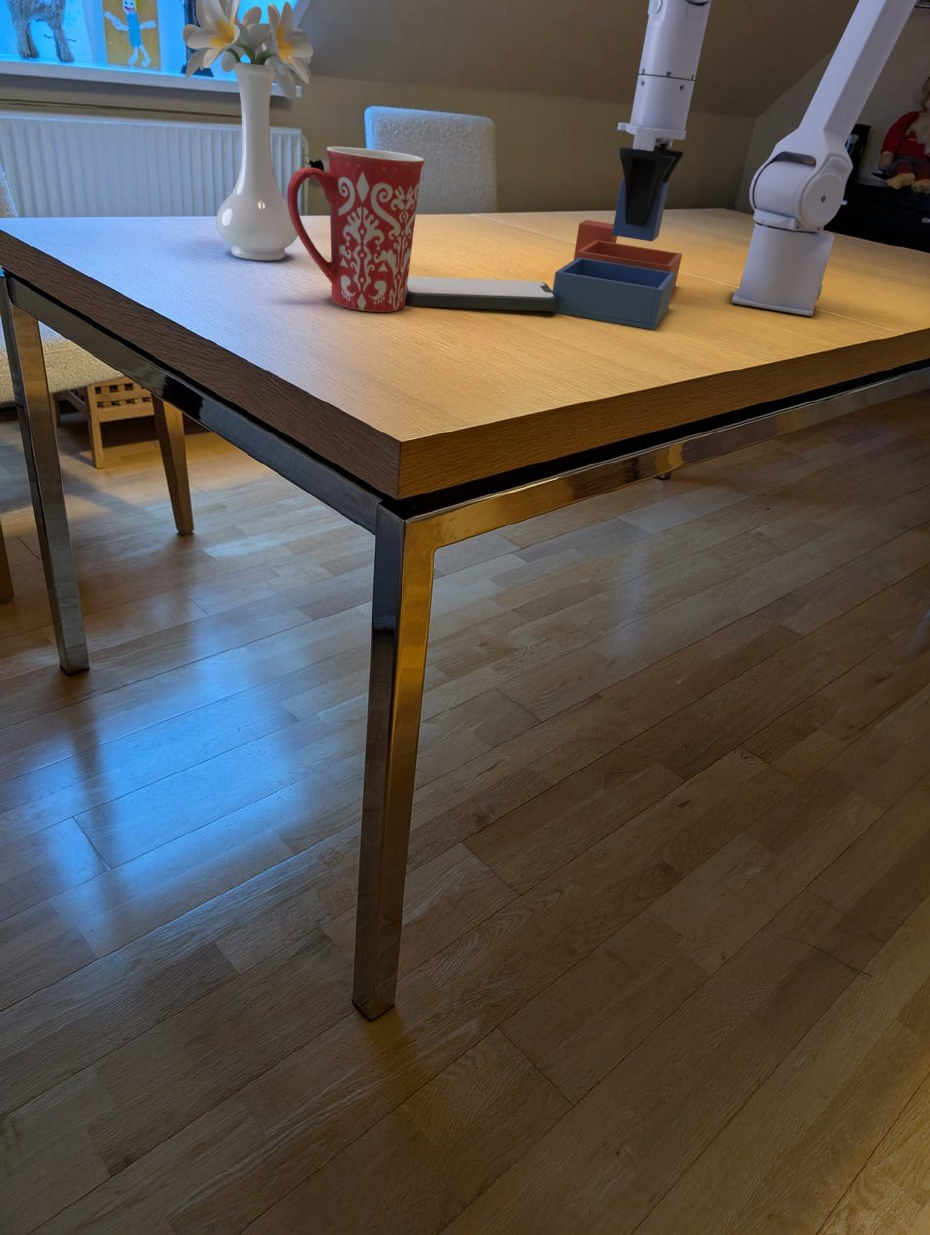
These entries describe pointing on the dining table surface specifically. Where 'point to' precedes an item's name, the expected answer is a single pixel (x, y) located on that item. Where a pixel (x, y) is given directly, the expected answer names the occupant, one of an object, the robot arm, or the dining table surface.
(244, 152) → the flower vase
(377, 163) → the mug
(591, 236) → the terracotta block
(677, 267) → the terracotta bin
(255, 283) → the dining table surface
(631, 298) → the blue bin
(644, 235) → the blue block
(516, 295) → the phone case
